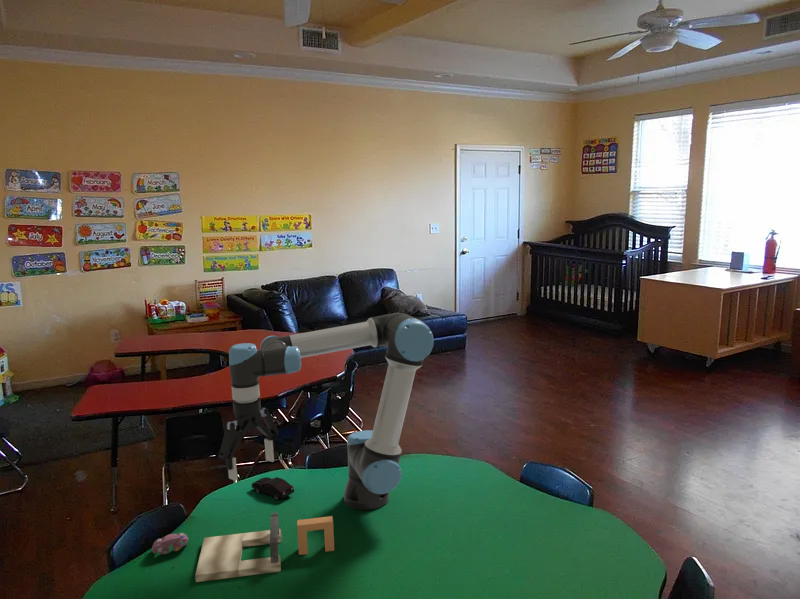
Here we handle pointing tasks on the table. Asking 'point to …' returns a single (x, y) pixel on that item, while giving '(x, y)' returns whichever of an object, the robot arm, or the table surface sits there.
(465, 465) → the table surface
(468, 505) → the table surface
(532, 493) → the table surface
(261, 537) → the wooden base with post
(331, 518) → the tan wooden arch
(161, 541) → the video game controller
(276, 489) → the toy car
